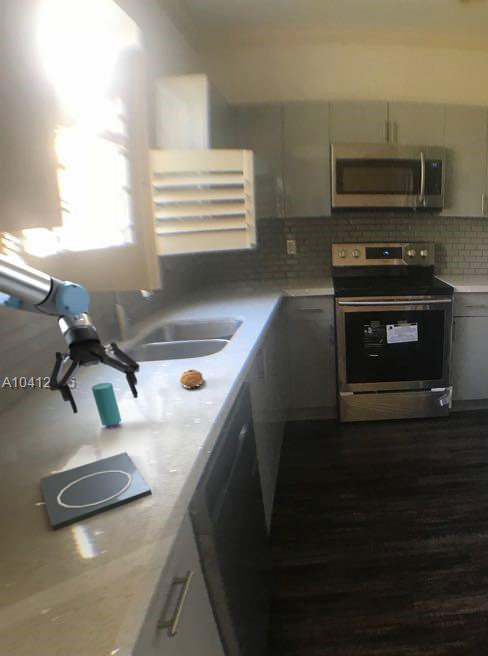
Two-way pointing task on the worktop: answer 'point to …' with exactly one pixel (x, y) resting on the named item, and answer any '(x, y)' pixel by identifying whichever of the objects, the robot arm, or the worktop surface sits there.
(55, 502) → the slate board
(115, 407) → the dot marker
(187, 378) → the pastry
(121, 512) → the worktop surface
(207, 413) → the worktop surface
